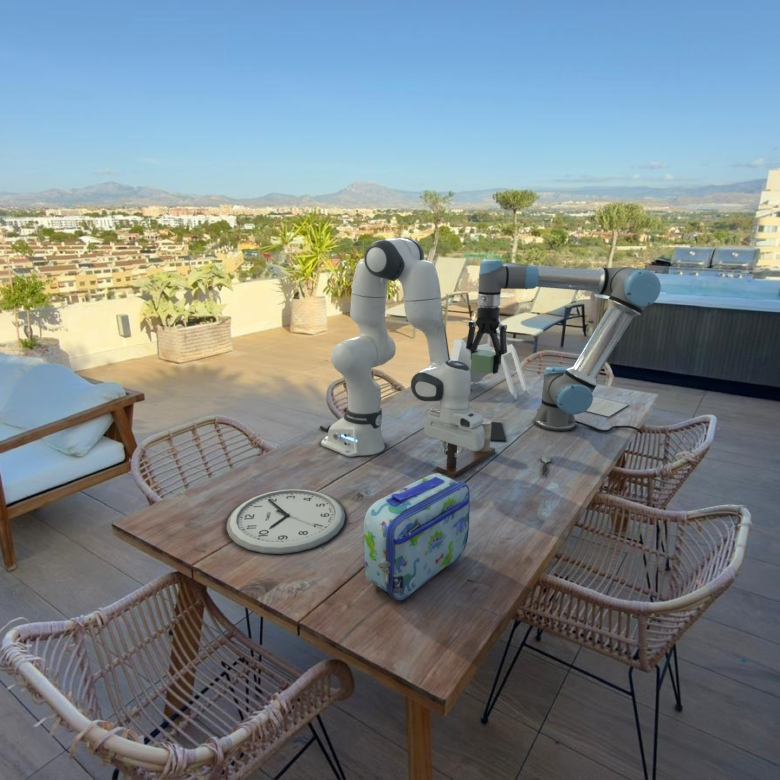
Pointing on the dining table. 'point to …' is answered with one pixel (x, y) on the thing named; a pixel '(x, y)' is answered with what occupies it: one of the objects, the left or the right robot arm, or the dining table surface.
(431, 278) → the left robot arm
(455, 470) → the caddy
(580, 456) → the dining table surface
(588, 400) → the right robot arm
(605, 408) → the invitation card
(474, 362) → the sage green cube
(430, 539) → the lunch box
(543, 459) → the fork
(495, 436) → the slate mat
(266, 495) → the wall clock
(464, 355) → the white plastic object
